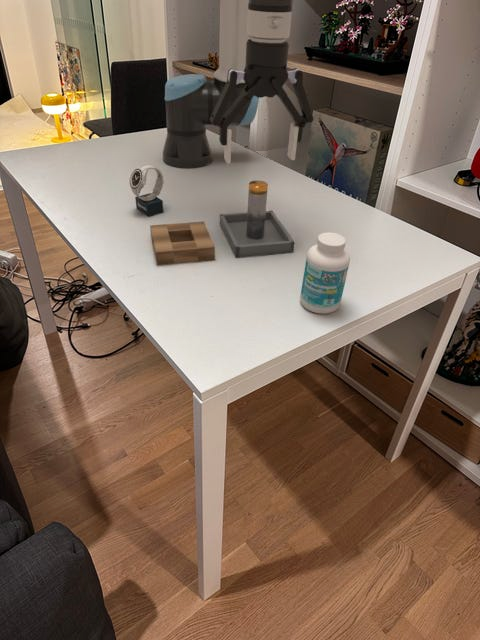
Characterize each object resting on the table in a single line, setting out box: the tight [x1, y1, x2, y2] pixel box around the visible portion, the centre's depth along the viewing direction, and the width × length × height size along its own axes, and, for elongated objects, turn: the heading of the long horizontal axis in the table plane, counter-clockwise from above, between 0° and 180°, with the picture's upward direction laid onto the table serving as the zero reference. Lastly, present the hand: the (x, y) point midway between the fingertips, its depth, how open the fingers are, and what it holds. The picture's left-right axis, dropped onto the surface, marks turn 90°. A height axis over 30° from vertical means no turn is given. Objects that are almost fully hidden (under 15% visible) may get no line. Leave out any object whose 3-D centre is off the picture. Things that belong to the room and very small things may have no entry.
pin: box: [246, 179, 269, 239], centre depth 101 cm, size 4×4×12 cm
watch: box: [129, 164, 165, 218], centre depth 111 cm, size 6×8×11 cm
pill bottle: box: [299, 232, 351, 315], centre depth 82 cm, size 8×7×14 cm
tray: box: [219, 210, 295, 259], centre depth 104 cm, size 16×13×2 cm
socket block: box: [149, 220, 216, 266], centre depth 99 cm, size 12×12×3 cm
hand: (259, 159), depth 95 cm, fingers open, 13 cm apart
